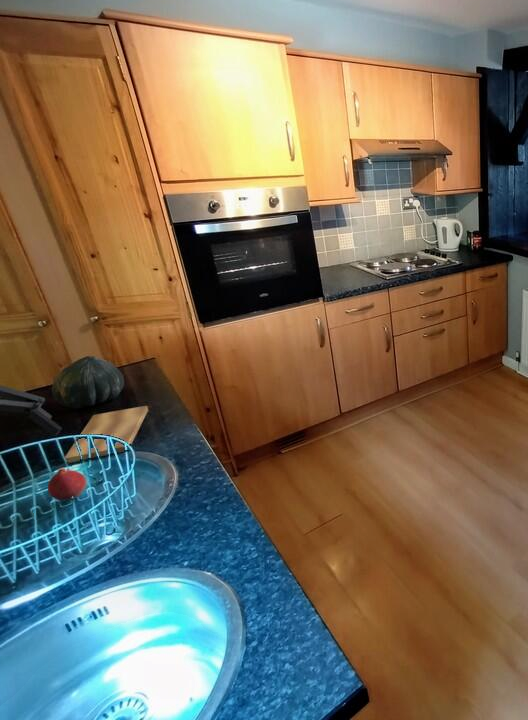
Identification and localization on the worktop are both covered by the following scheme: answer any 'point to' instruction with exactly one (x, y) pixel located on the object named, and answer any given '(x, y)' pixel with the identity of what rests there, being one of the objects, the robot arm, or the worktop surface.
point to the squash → (87, 383)
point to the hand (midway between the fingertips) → (24, 451)
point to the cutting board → (109, 431)
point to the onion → (66, 484)
